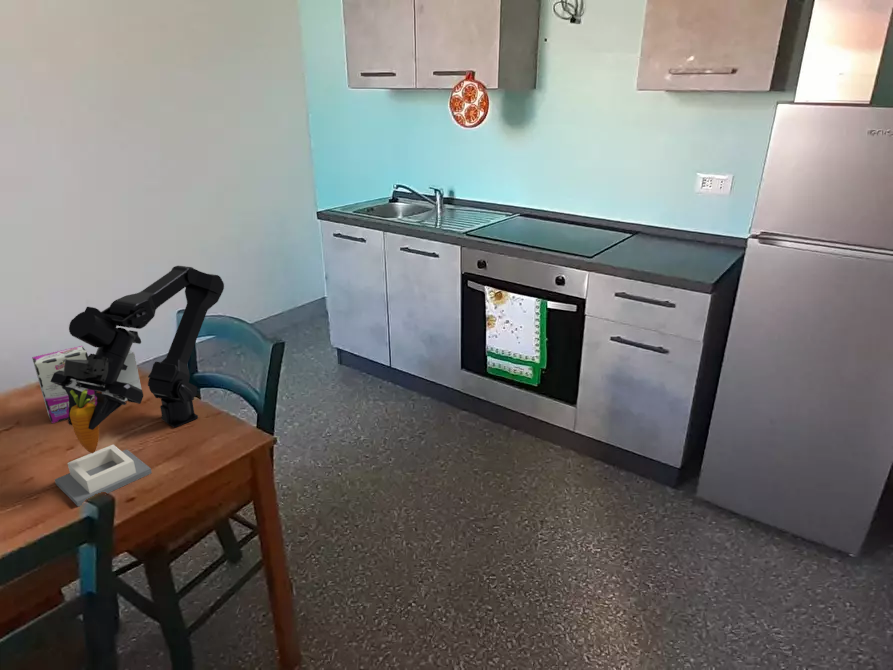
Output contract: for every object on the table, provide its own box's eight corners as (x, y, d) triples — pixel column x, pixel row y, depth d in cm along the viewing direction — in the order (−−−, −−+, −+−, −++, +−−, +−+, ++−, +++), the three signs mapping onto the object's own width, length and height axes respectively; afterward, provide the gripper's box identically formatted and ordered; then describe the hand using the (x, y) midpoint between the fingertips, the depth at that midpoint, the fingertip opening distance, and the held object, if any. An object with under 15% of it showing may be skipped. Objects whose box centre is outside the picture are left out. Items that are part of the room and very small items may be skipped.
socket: (127, 453, 142) (124, 437, 140) (151, 473, 136) (148, 456, 134) (55, 484, 132) (51, 467, 130) (78, 506, 125) (73, 489, 123)
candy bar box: (96, 402, 163) (83, 344, 156) (101, 410, 159) (88, 351, 153) (47, 415, 156) (31, 356, 150) (50, 424, 153) (34, 363, 146)
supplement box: (129, 386, 171) (121, 344, 166) (143, 395, 167) (135, 352, 162) (101, 396, 166) (92, 352, 161) (115, 405, 162) (105, 361, 157)
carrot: (75, 452, 132) (60, 389, 125) (101, 443, 135) (87, 381, 129) (83, 462, 128) (68, 398, 122) (109, 453, 132) (95, 390, 125)
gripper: (46, 335, 128) (12, 408, 123) (122, 348, 123) (89, 425, 118) (86, 354, 138) (55, 422, 133) (157, 366, 133) (128, 438, 128)
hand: (80, 427), depth 127 cm, fingers closed on carrot, 5 cm apart
